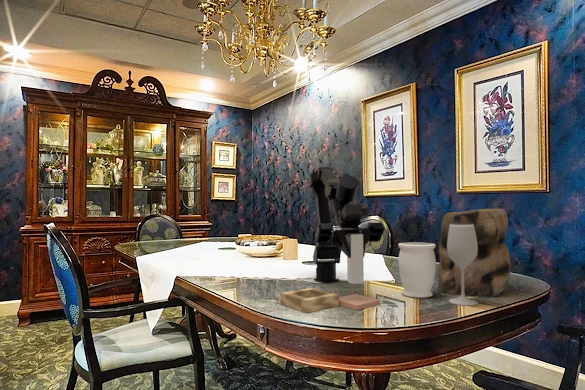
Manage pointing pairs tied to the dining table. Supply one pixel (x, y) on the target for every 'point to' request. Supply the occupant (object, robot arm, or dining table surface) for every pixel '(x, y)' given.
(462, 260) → the wineglass
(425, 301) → the dining table surface
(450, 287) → the brown mottled lumpy block
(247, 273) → the dining table surface
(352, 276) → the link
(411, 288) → the jar
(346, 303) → the coaster
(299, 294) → the brown square tray
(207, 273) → the dining table surface
